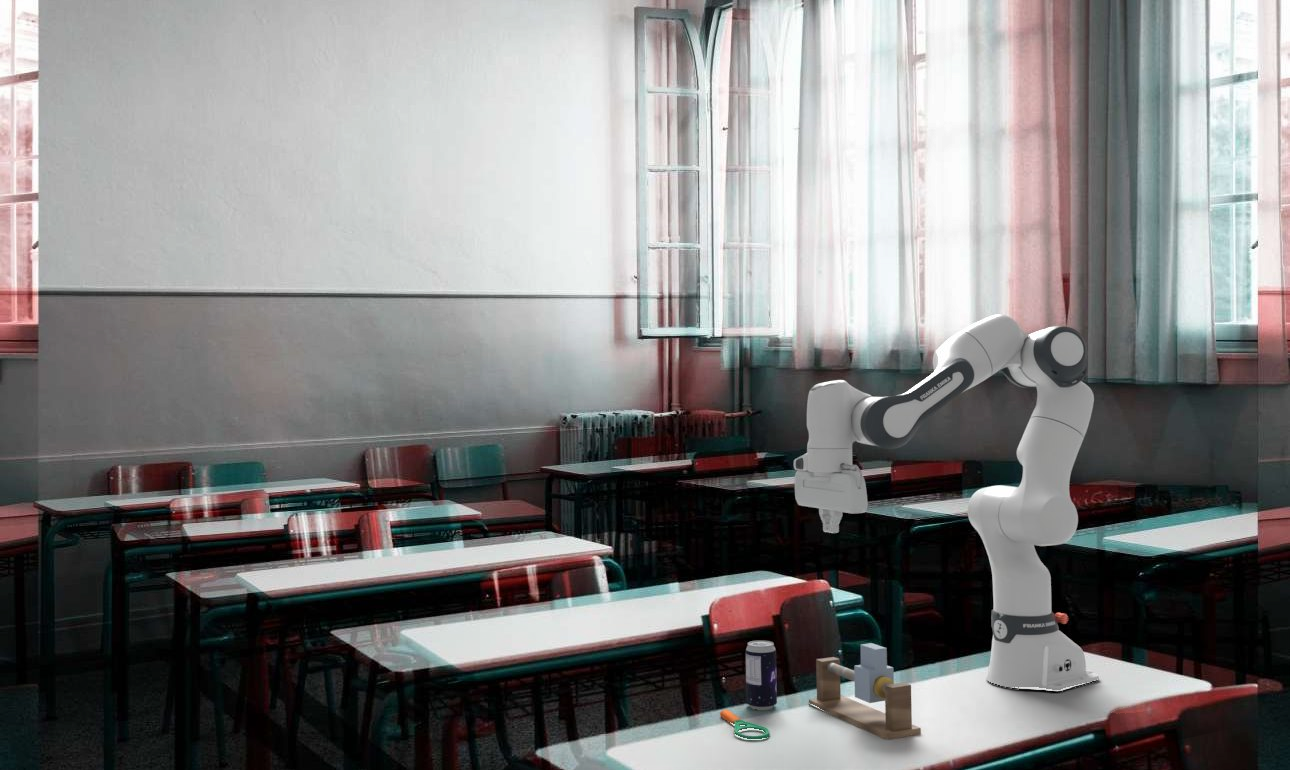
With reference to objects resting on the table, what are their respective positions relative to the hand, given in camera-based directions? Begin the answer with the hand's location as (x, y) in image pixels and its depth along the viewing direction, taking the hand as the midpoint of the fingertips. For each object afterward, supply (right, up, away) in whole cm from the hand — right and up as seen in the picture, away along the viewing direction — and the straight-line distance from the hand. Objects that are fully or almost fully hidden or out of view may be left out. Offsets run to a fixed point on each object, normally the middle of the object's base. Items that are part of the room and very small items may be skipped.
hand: (831, 532), depth 226 cm
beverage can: (-15, -32, -12) cm, 37 cm away
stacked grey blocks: (+4, -26, -23) cm, 36 cm away
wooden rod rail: (+2, -31, -20) cm, 37 cm away
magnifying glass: (-20, -32, -24) cm, 45 cm away
